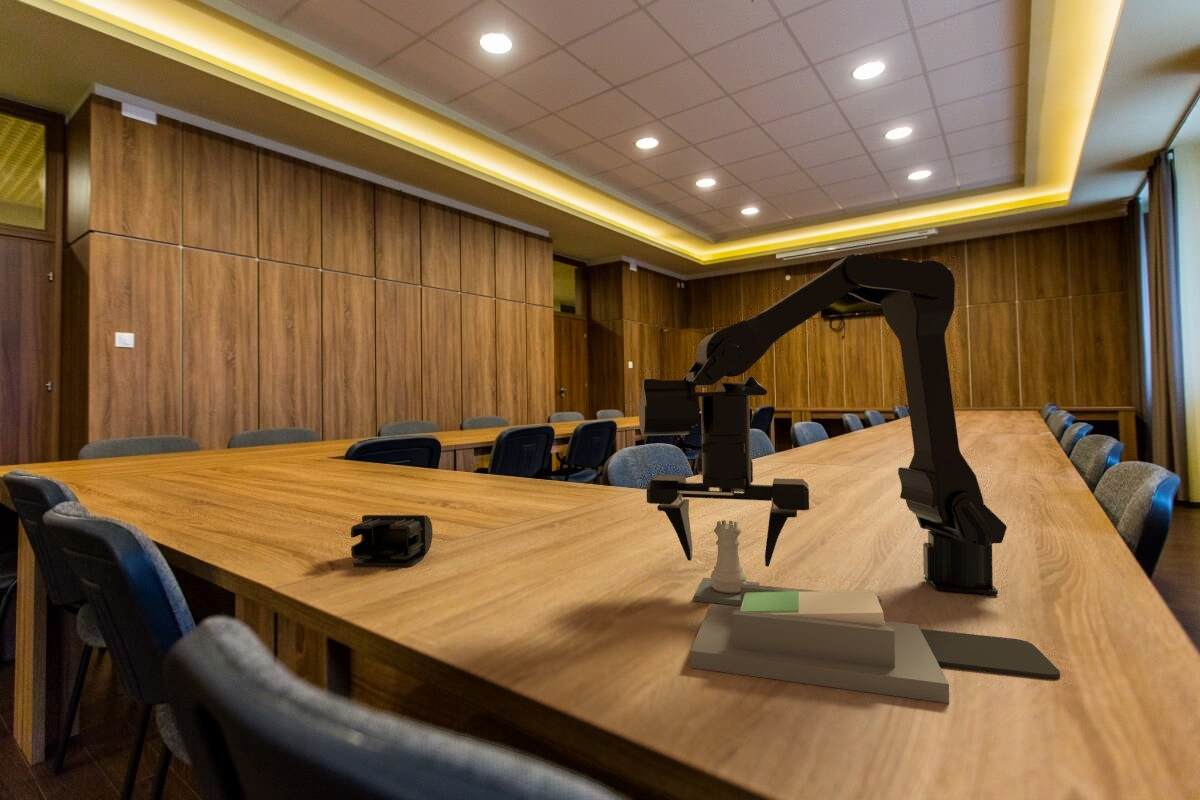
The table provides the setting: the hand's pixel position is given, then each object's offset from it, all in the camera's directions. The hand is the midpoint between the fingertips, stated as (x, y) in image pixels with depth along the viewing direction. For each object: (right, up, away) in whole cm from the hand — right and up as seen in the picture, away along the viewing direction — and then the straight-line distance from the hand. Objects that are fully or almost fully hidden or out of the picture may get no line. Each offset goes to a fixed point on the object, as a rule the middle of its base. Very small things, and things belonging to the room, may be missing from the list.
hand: (727, 562), depth 69 cm
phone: (+17, -4, -16) cm, 24 cm away
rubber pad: (0, -4, 0) cm, 4 cm away
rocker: (+4, 0, -16) cm, 17 cm away
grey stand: (+4, -4, -16) cm, 17 cm away
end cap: (-47, -5, +17) cm, 50 cm away
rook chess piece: (0, -3, 0) cm, 3 cm away
